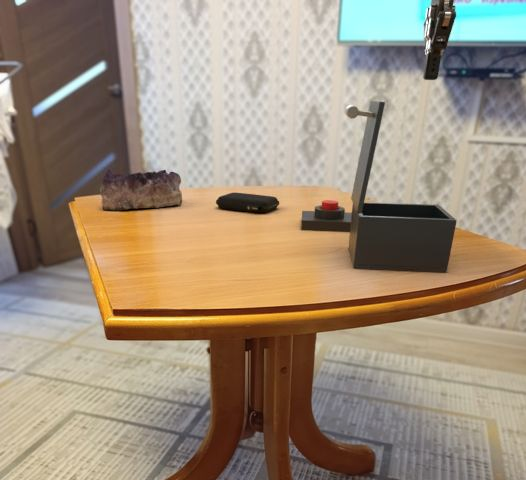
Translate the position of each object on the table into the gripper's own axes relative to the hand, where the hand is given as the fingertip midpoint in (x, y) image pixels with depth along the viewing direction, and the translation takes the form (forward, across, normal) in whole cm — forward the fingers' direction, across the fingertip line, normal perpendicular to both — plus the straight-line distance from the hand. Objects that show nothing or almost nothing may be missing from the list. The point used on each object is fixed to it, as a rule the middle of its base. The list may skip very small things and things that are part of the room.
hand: (430, 79), depth 89 cm
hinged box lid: (+12, -12, +11) cm, 20 cm away
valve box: (+29, -12, +4) cm, 32 cm away
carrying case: (+29, +27, +35) cm, 53 cm away
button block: (+29, +12, +15) cm, 35 cm away
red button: (+25, +12, +15) cm, 32 cm away
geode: (+29, +25, +61) cm, 72 cm away
